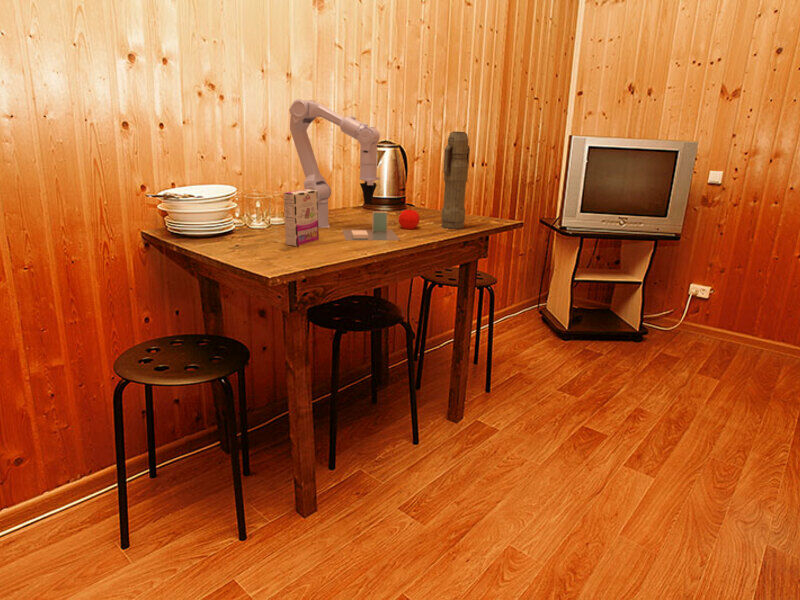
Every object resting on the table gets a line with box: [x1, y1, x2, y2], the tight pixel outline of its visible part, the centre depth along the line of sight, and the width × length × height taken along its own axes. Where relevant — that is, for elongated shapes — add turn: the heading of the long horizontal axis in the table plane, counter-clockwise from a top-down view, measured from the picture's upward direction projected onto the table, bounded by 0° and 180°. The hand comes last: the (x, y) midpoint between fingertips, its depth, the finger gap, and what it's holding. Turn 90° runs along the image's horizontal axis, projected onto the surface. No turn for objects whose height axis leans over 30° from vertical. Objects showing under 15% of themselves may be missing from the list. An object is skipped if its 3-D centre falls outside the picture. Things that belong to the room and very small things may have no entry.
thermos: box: [440, 131, 471, 230], centre depth 202 cm, size 9×12×35 cm
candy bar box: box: [283, 188, 320, 248], centre depth 170 cm, size 11×5×16 cm, turn 151°
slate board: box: [341, 229, 401, 241], centre depth 185 cm, size 18×18×1 cm
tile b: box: [371, 211, 388, 232], centre depth 190 cm, size 5×2×7 cm, turn 100°
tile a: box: [350, 229, 368, 239], centre depth 180 cm, size 5×2×7 cm
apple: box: [398, 209, 421, 230], centre depth 198 cm, size 8×8×7 cm
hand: (368, 204), depth 189 cm, fingers closed
